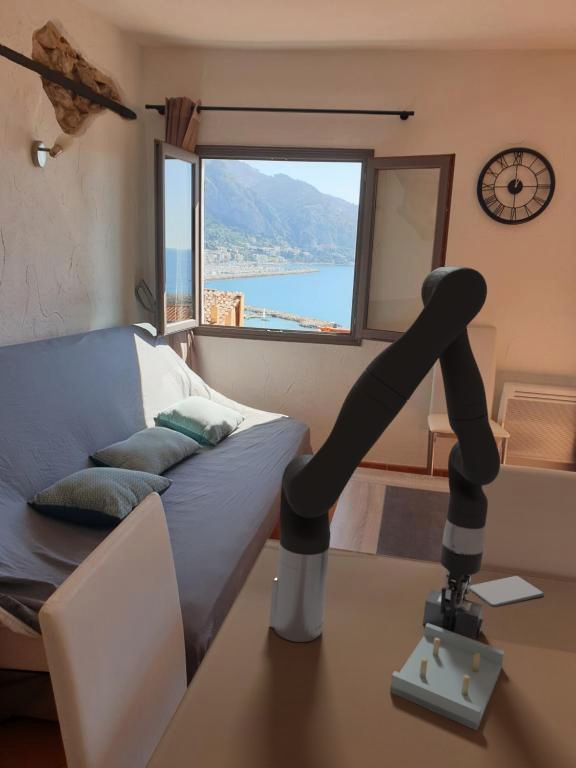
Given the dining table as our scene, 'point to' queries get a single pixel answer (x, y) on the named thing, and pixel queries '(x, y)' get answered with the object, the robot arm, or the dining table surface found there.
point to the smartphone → (505, 591)
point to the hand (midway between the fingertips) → (452, 623)
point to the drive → (465, 619)
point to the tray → (450, 675)
